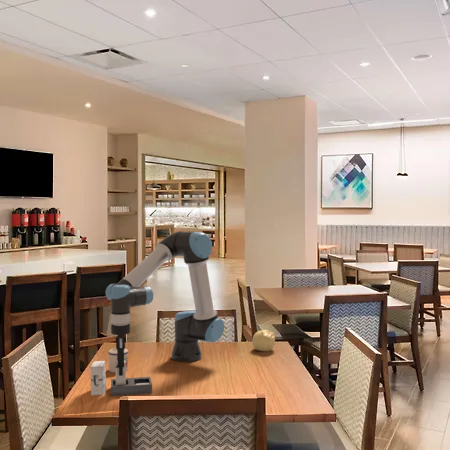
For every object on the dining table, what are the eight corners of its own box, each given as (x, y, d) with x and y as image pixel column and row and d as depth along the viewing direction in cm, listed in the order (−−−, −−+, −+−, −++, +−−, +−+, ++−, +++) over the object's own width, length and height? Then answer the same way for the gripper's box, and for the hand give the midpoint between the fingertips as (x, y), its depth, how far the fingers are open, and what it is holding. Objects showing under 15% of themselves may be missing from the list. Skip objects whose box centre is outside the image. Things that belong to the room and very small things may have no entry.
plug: (125, 389, 216) (125, 356, 215) (125, 392, 212) (125, 358, 211) (115, 389, 215) (115, 356, 214) (115, 393, 211) (115, 359, 211)
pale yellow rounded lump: (272, 353, 271) (273, 333, 271) (250, 351, 275) (250, 331, 274) (276, 348, 282) (277, 328, 282) (255, 346, 286) (255, 326, 285)
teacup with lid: (123, 374, 237) (123, 348, 236) (104, 372, 239) (104, 347, 239) (134, 366, 248) (134, 341, 248) (116, 364, 251) (116, 340, 250)
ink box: (93, 389, 217) (93, 360, 217) (106, 389, 217) (106, 360, 217) (90, 396, 208) (90, 366, 208) (103, 396, 209) (103, 366, 208)
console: (150, 386, 221) (150, 376, 221) (152, 394, 211) (152, 384, 211) (111, 388, 217) (111, 378, 217) (111, 397, 208) (111, 386, 208)
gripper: (110, 319, 220) (111, 375, 221) (111, 328, 203) (111, 388, 204) (129, 318, 222) (129, 374, 222) (130, 327, 205) (130, 387, 206)
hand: (120, 380), depth 213 cm, fingers closed on plug, 4 cm apart
